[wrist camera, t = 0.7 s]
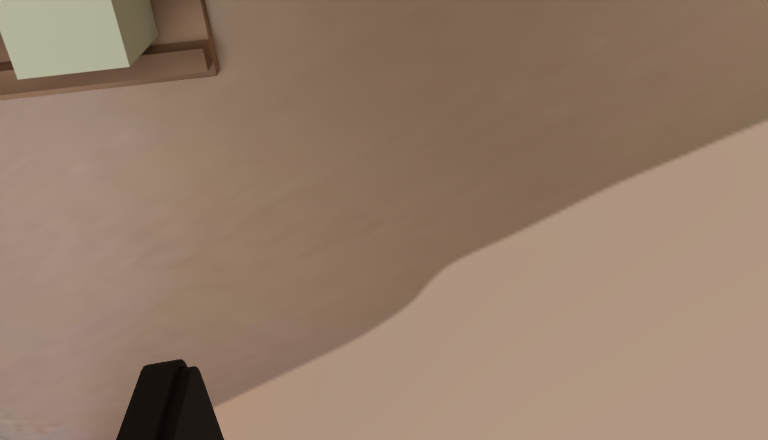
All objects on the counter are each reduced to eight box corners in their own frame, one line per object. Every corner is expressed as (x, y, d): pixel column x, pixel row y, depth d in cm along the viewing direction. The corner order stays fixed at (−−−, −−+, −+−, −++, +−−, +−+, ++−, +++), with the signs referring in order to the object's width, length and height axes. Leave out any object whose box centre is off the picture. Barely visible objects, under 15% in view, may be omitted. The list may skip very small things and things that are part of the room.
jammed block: (30, -56, 33) (-26, -39, 28) (133, -68, 33) (96, -53, 28) (63, 45, 36) (17, 79, 30) (158, 35, 36) (129, 66, 31)
